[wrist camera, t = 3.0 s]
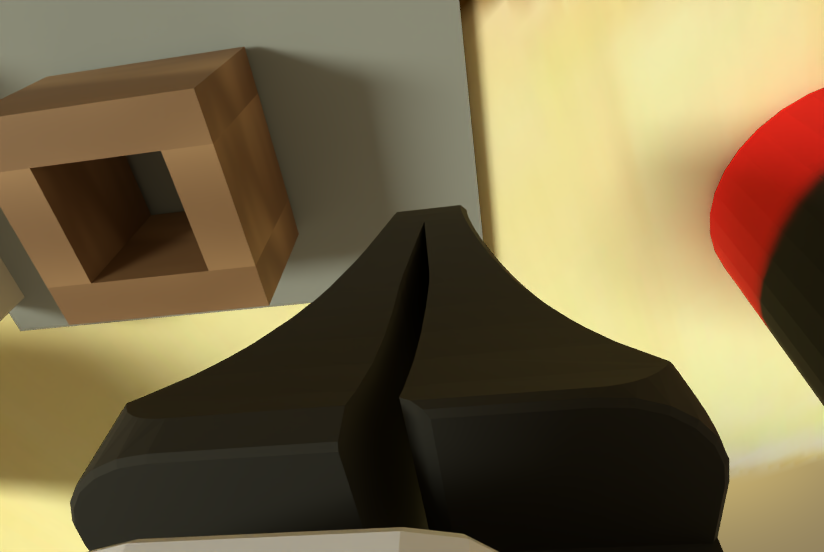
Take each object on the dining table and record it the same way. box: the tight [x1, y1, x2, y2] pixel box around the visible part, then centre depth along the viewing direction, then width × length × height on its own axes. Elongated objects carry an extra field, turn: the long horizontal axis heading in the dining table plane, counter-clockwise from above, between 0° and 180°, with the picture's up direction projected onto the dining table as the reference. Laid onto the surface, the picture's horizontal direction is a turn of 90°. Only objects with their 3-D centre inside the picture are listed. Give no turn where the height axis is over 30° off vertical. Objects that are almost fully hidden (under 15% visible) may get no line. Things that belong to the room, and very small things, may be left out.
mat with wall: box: [0, 0, 483, 331], centre depth 17 cm, size 12×18×4 cm, turn 99°
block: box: [0, 47, 299, 325], centre depth 17 cm, size 6×6×4 cm
